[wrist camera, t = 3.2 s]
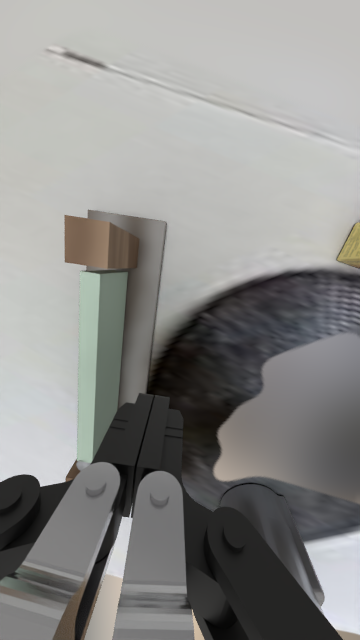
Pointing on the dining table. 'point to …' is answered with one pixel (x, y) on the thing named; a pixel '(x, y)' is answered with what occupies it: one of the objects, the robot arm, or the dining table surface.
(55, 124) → the dining table surface
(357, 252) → the candy box
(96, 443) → the gate
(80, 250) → the gate frame
